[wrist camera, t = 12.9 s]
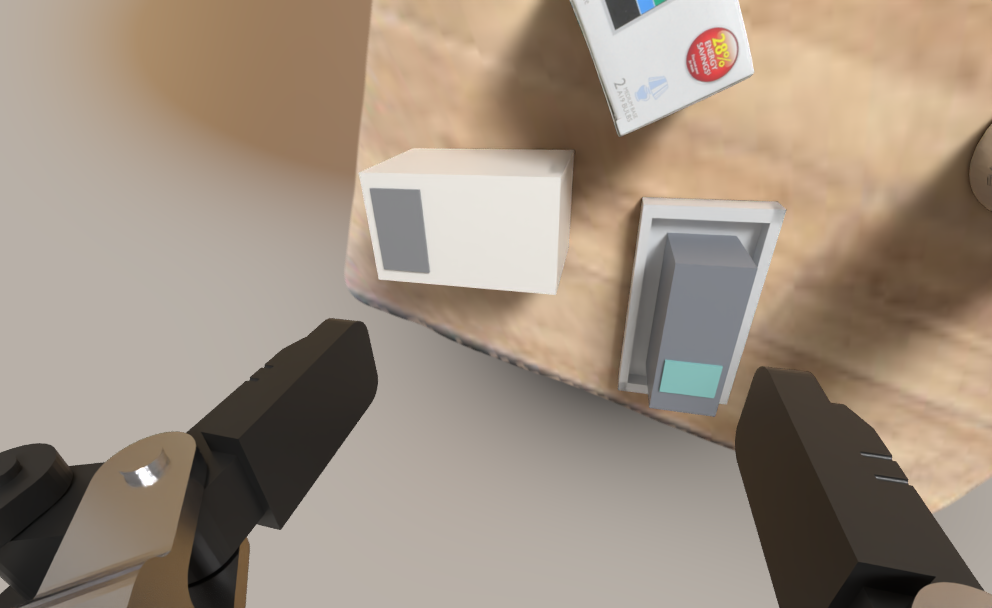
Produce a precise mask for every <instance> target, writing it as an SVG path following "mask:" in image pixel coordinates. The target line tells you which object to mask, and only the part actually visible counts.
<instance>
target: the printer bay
mask: <svg viewBox="0 0 992 608" xmlns="http://www.w3.org/2000/svg"><path fill="white" fill-rule="evenodd" d="M573 165H574V150H543V149H445V148H412V149H410V150H408V151H406V152H404V153H401V154H399V155H397V156H395V157H392V158H390V159H388V160H386V161H383V162H381V163H379V164H377V165H374V166H372V167H370V168H368V169H365V170H363V171H361V172H359V176H360V181H361V187H362V192H363V197H364V203H365V208H366V213H367V219H368V224H369V229H370V235H371V240H372V246H373V251H374V256H375V262H376V267H377V272H378V278H379V280H391V281H402V282H414V283H425V284H437V285H448V286H460V287H471V288H483V289H494V290H506V291H517V292H529V293H540V294H552V295H556V293H557V289H558V286H559V282H560V278H561V275H562V271H563V267H564V263H565V260H566V256H567V252H568V248H569V239H570V220H571V202H572V183H573Z"/></svg>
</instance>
